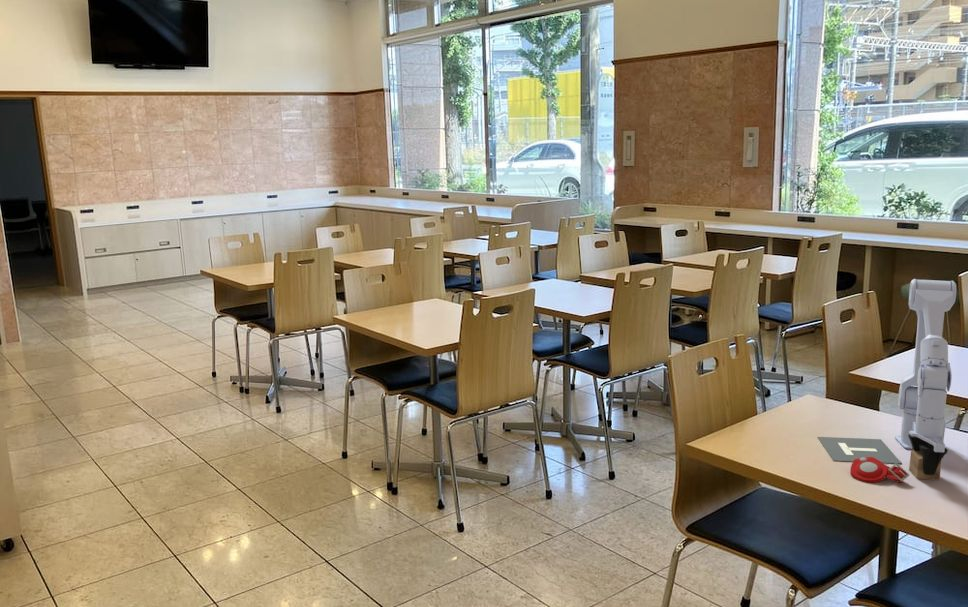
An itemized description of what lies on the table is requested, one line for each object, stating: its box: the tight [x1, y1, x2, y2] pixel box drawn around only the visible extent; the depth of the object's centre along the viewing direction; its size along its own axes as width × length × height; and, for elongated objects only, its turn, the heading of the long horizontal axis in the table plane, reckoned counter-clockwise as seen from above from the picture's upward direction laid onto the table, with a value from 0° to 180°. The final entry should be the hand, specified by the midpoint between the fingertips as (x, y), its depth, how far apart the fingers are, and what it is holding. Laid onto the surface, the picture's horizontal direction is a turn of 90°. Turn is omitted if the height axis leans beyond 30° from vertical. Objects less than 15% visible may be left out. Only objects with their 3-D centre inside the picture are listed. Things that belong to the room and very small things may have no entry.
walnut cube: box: [908, 450, 943, 481], centre depth 191 cm, size 5×5×5 cm
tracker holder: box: [849, 457, 910, 484], centre depth 191 cm, size 12×4×10 cm
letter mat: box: [817, 436, 902, 465], centre depth 207 cm, size 16×16×1 cm
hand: (924, 469), depth 191 cm, fingers closed on walnut cube, 5 cm apart
